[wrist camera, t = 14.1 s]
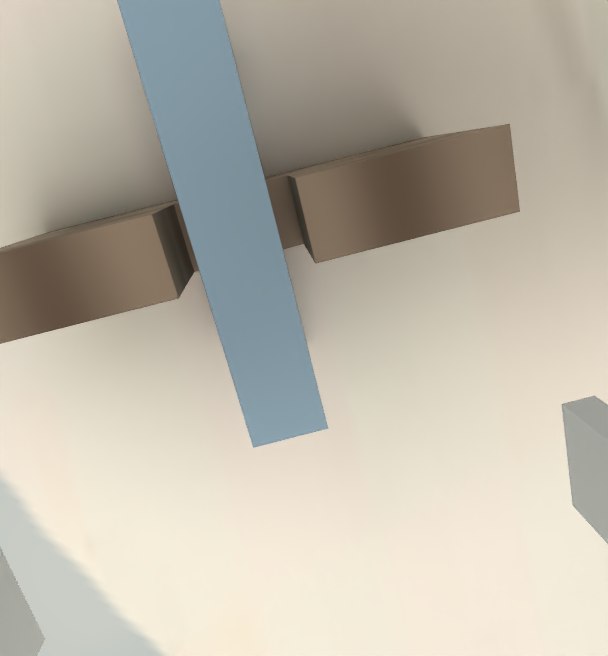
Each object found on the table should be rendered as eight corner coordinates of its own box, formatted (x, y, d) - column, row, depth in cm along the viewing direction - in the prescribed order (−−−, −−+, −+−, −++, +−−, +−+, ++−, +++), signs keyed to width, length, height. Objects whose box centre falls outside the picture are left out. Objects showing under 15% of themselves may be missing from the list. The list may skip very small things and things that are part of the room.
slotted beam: (424, 137, 28) (509, 123, 19) (433, 195, 29) (519, 211, 19) (45, 233, 28) (-65, 269, 18) (66, 288, 29) (-28, 350, 19)
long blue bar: (228, 39, 26) (210, -33, 16) (306, 346, 31) (328, 428, 21) (166, 54, 26) (114, -9, 16) (254, 359, 31) (253, 447, 21)
